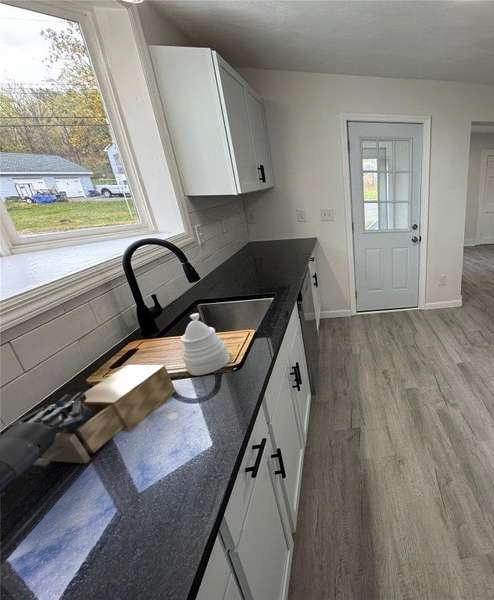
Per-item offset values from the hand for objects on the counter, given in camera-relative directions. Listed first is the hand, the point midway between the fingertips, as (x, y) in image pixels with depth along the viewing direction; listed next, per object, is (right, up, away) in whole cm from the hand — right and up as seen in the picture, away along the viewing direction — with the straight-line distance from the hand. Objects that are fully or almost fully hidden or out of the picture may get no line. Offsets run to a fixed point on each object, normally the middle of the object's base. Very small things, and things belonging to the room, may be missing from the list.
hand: (76, 396), depth 76 cm
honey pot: (+13, +1, +32) cm, 35 cm away
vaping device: (+2, -10, +1) cm, 11 cm away
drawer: (+1, -12, +1) cm, 12 cm away
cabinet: (+3, -8, +13) cm, 16 cm away
